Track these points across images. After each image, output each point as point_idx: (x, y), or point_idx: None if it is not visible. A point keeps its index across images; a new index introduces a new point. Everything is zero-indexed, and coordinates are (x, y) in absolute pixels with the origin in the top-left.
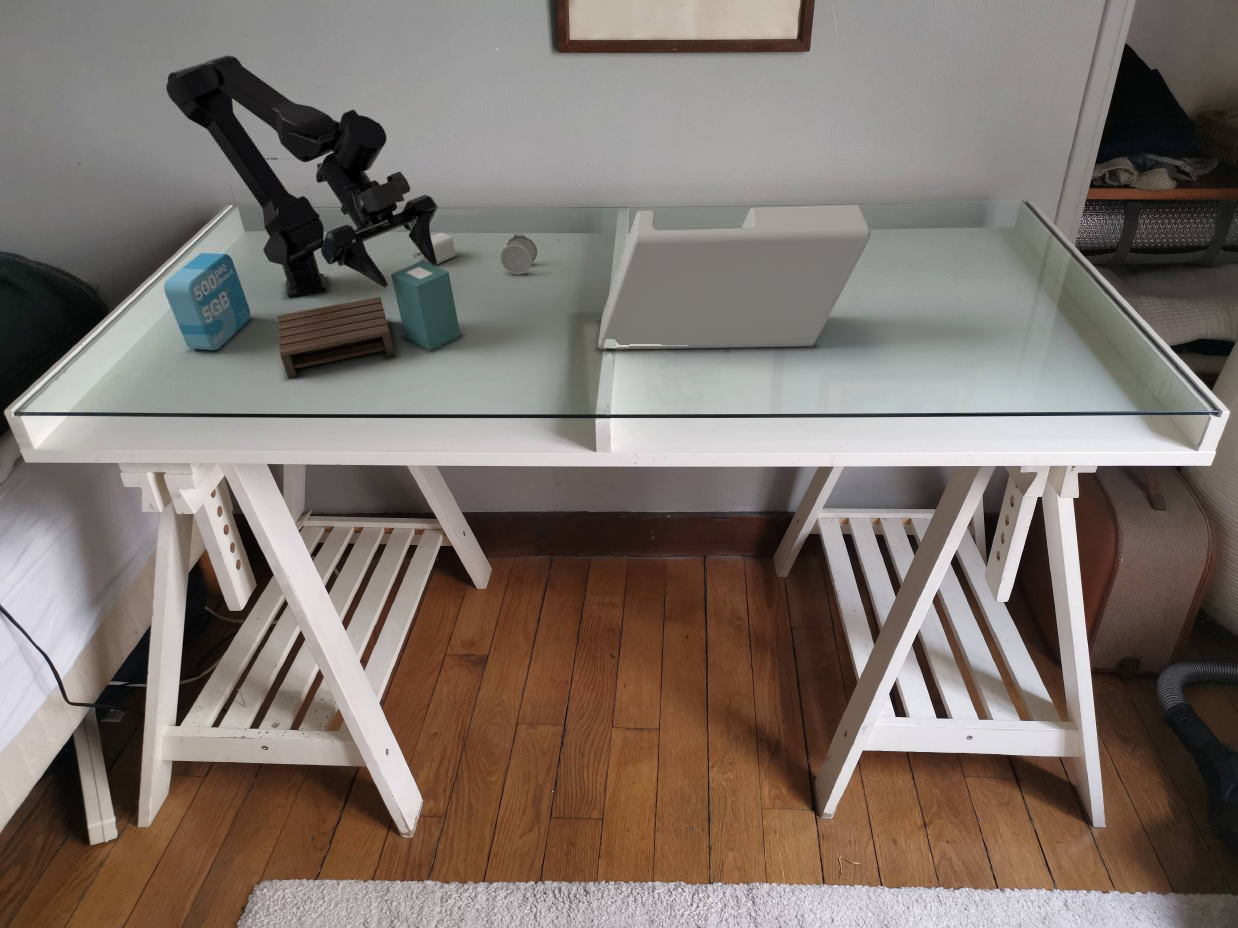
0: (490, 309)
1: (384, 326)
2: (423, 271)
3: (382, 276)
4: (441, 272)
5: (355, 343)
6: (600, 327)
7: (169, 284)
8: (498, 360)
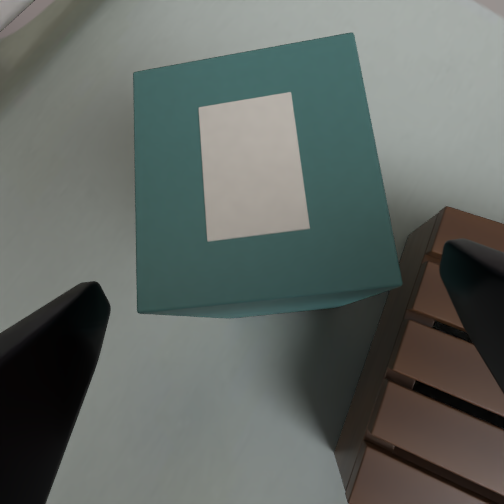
0: (83, 274)
1: None
2: (223, 162)
3: (489, 259)
4: (159, 92)
5: None
6: (4, 13)
7: None
8: None
